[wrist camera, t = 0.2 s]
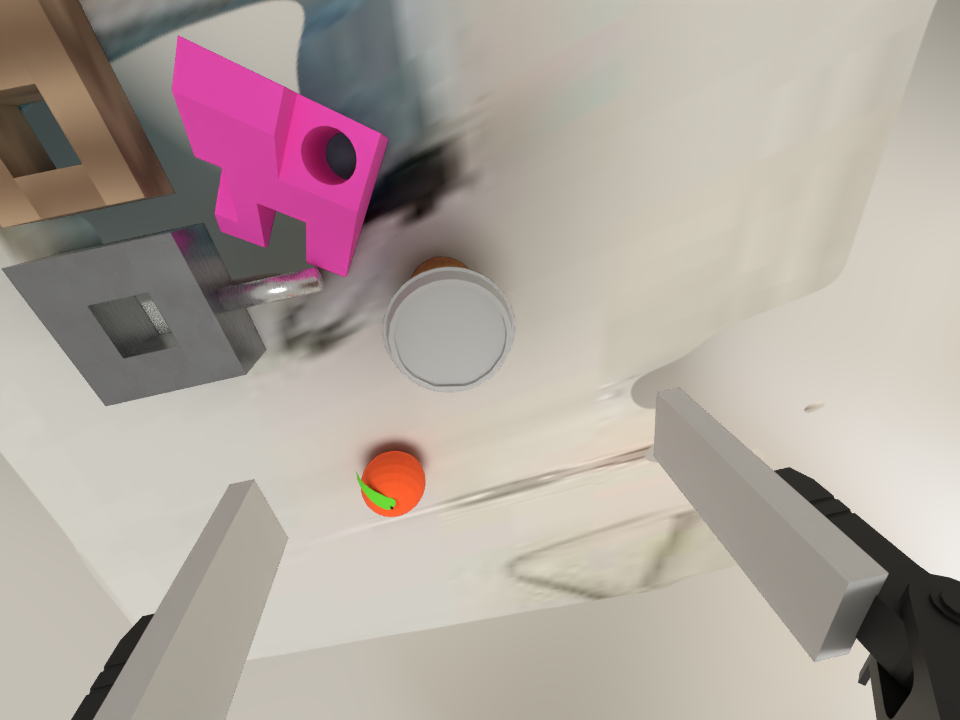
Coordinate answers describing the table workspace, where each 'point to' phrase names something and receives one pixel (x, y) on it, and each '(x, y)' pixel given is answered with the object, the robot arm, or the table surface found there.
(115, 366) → the block
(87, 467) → the table surface
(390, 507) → the clementine
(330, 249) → the bracket
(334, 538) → the table surface
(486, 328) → the disposable coffee cup
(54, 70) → the stand
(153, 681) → the robot arm
